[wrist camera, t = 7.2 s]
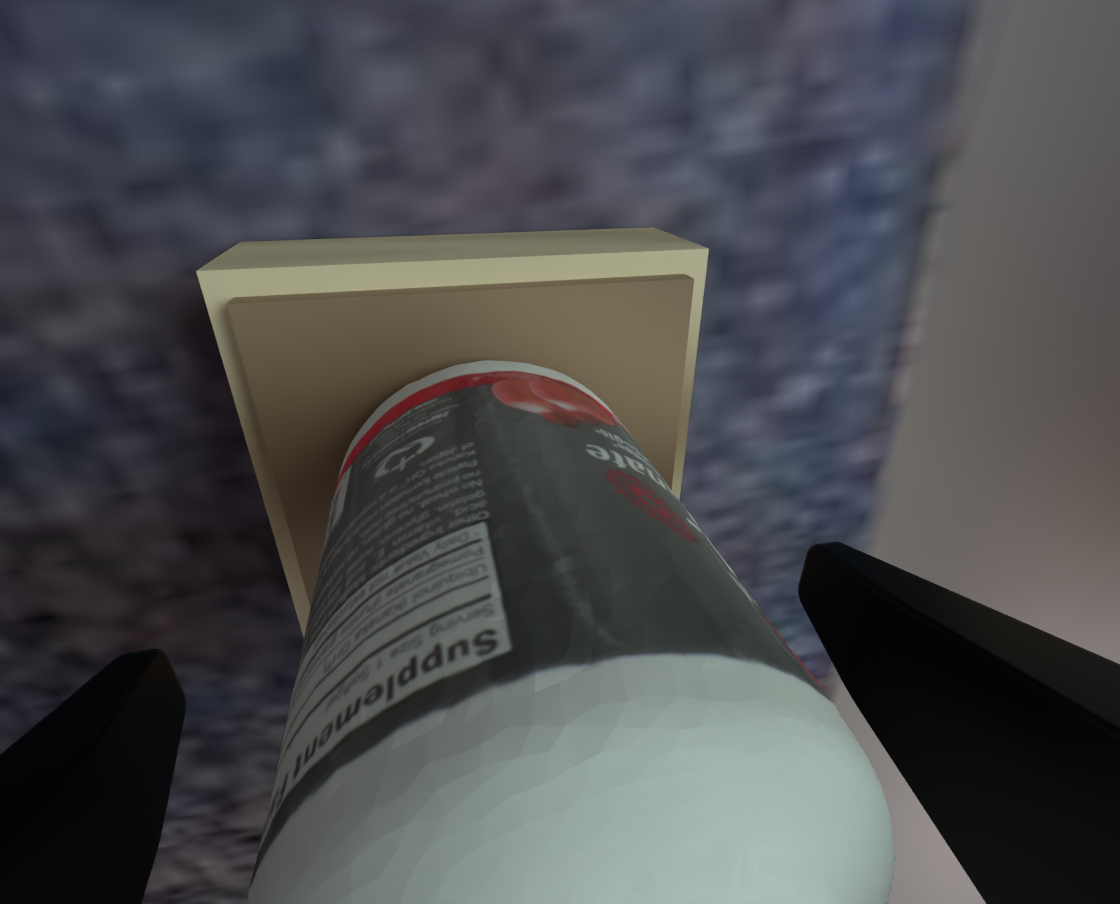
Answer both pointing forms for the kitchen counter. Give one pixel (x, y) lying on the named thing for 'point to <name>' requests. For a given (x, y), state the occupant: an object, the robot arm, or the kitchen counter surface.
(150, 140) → the kitchen counter surface
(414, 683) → the pill bottle
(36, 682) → the kitchen counter surface
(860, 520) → the kitchen counter surface
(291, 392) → the plinth
